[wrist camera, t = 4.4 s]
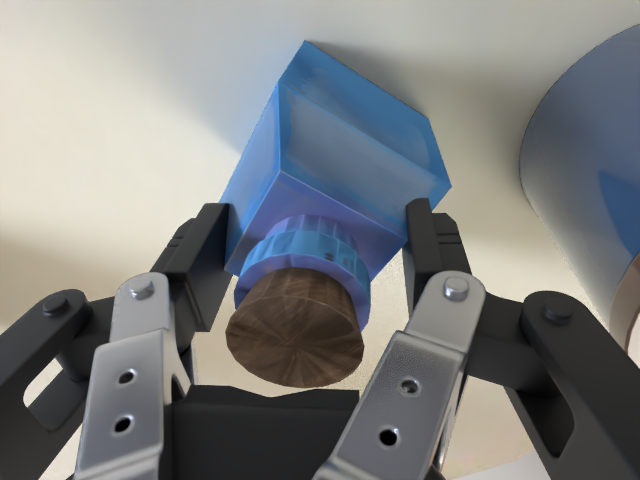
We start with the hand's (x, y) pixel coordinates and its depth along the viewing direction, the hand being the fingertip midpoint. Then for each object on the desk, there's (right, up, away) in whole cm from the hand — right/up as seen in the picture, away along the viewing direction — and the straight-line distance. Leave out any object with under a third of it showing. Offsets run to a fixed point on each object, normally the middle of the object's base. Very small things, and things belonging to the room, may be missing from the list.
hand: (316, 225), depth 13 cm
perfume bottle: (+1, +4, +6) cm, 7 cm away
